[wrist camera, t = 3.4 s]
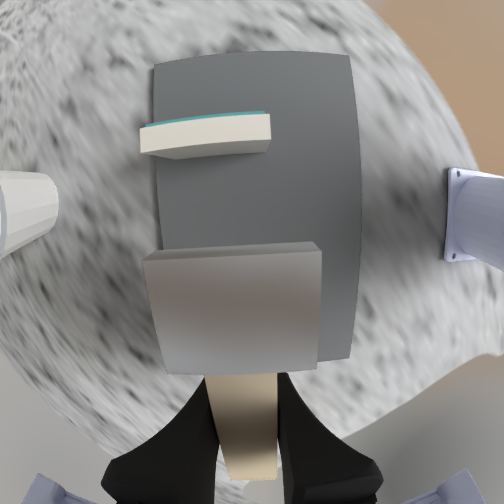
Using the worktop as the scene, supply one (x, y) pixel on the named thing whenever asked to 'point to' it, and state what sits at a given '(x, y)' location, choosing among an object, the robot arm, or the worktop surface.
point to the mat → (271, 168)
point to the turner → (238, 334)
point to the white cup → (25, 208)
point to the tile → (207, 135)
